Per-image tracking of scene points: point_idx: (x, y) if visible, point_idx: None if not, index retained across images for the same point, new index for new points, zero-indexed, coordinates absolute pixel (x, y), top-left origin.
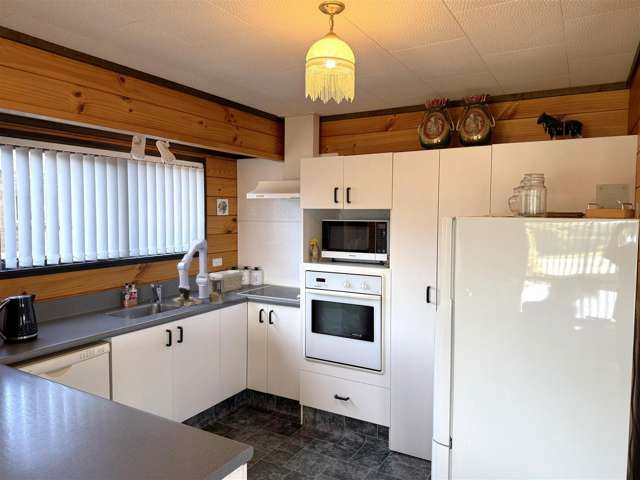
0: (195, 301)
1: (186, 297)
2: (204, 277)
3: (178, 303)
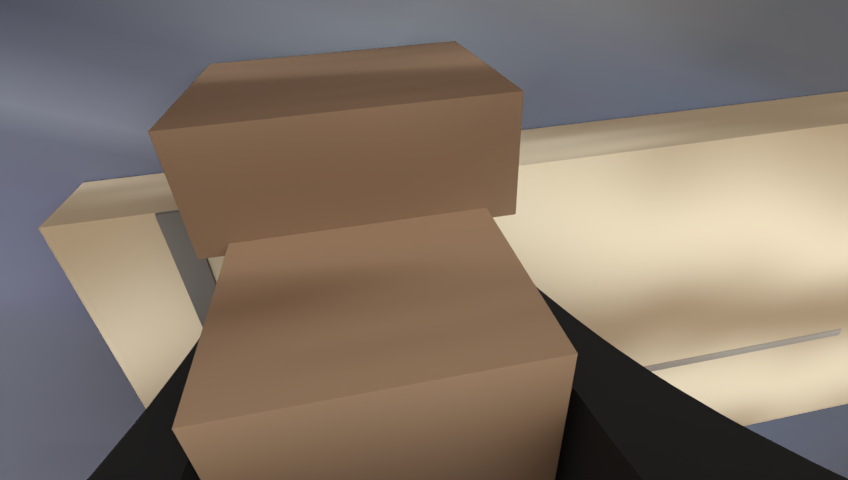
0: None
1: None
2: None
3: (410, 53)
